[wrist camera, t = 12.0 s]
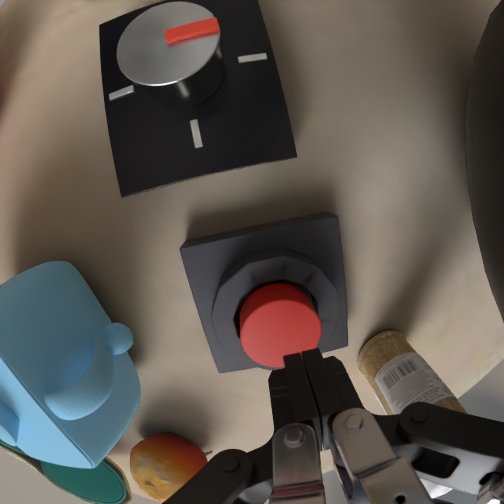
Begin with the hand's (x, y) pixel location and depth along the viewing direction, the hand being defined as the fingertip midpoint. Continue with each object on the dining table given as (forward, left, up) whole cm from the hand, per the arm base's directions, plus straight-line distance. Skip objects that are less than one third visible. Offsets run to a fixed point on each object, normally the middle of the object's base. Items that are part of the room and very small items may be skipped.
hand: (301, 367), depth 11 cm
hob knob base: (-14, -3, -8) cm, 16 cm away
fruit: (+15, -13, -8) cm, 21 cm away
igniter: (0, -1, -8) cm, 8 cm away
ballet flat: (+13, -30, -3) cm, 32 cm away
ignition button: (0, -1, -5) cm, 5 cm away
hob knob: (-14, -3, -5) cm, 15 cm away
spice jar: (+7, +7, -8) cm, 13 cm away
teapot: (+1, -18, -8) cm, 19 cm away
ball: (-6, +22, -8) cm, 24 cm away
